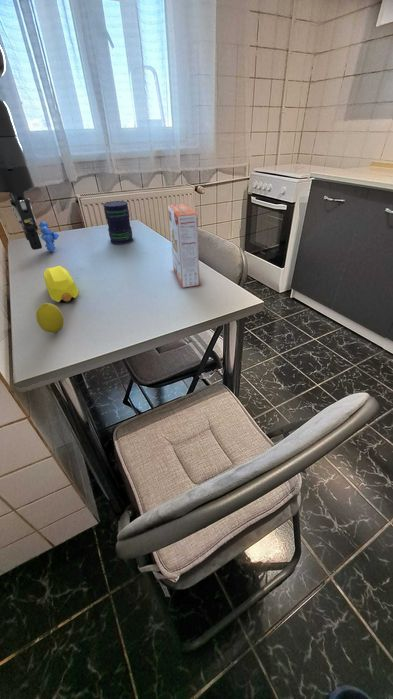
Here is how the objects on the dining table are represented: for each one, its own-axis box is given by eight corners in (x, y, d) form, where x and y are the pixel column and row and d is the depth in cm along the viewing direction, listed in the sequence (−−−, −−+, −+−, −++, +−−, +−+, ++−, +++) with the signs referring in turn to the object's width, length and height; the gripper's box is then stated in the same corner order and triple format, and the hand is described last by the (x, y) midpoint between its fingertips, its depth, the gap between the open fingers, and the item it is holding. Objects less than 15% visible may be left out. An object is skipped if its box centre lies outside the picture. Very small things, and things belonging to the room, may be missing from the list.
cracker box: (172, 271, 100) (167, 204, 87) (189, 269, 101) (186, 202, 88) (180, 288, 89) (176, 214, 76) (200, 286, 90) (198, 212, 77)
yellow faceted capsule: (70, 279, 97) (45, 284, 94) (64, 259, 92) (37, 264, 89) (83, 301, 84) (54, 308, 81) (76, 279, 80) (46, 285, 77)
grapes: (64, 254, 116) (54, 222, 109) (46, 257, 114) (35, 224, 107) (62, 246, 125) (53, 215, 118) (45, 248, 123) (35, 217, 116)
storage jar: (137, 238, 131) (132, 201, 122) (125, 245, 124) (118, 206, 115) (118, 236, 134) (112, 200, 125) (105, 243, 127) (97, 205, 118)
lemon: (62, 339, 69) (51, 309, 64) (39, 339, 69) (26, 309, 64) (70, 326, 73) (61, 297, 68) (49, 326, 73) (37, 297, 69)
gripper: (-15, 163, 64) (14, 239, 74) (-13, 167, 54) (20, 255, 64) (22, 161, 67) (45, 234, 77) (31, 165, 57) (56, 248, 67)
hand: (34, 244), depth 70 cm, fingers open, 8 cm apart
